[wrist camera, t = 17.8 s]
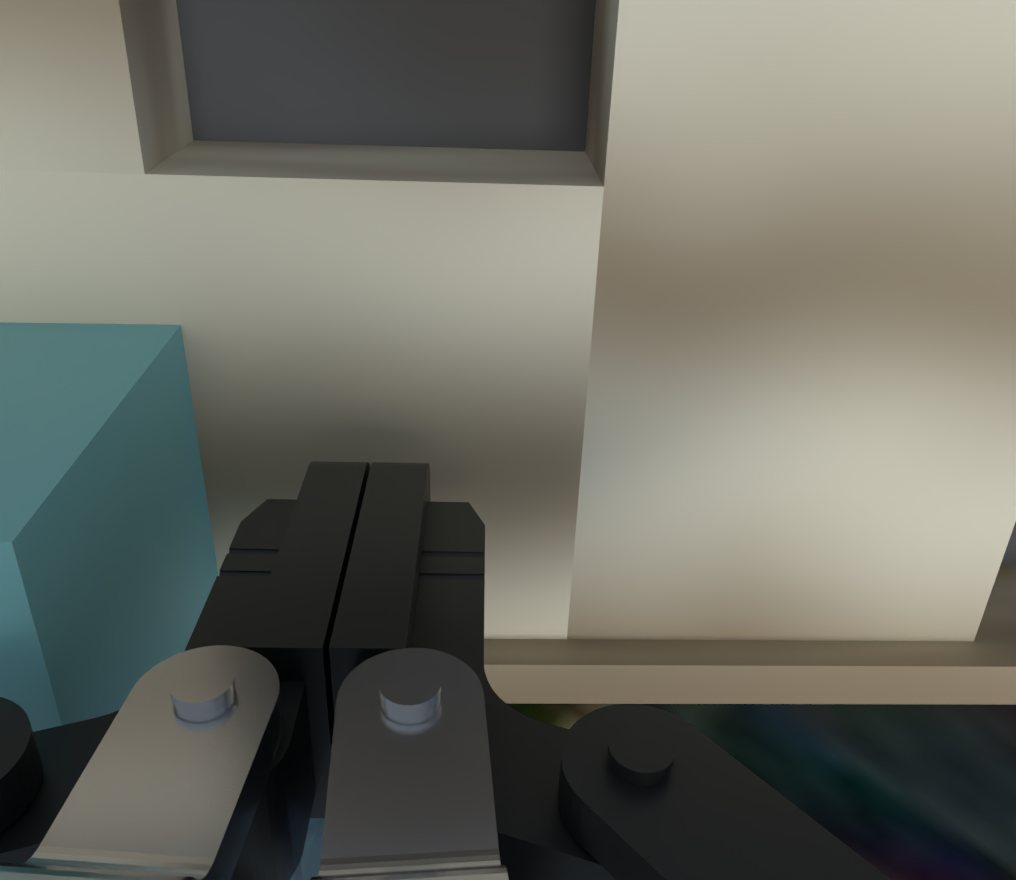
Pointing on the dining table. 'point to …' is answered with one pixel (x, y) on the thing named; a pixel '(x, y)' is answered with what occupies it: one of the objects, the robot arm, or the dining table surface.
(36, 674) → the teal block
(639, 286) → the tray
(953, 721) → the dining table surface
